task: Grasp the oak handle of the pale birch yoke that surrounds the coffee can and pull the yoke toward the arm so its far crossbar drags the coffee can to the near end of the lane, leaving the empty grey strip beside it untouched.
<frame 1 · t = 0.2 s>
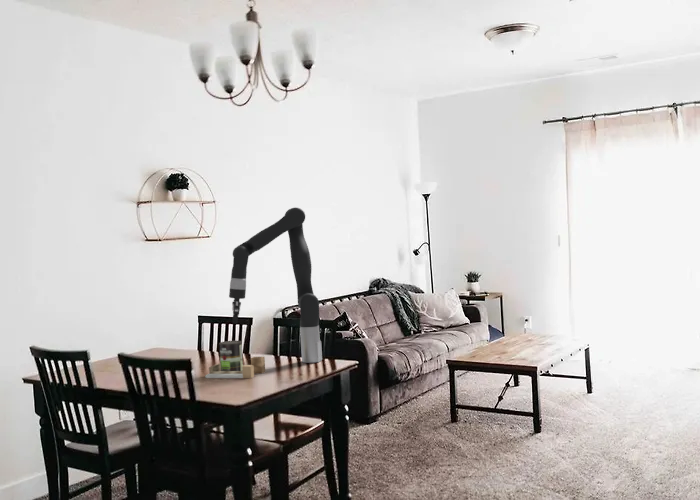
hand: (235, 322, 315), 22 cm above the table, tool pointing down, fingers open, 8 cm apart
yoke: (239, 365, 305), point 4 cm above the table, slide at 0.0 cm
empty strip: (229, 371, 296), point 3 cm above the table, slide at 0.0 cm
coffee can: (232, 373, 307), resting in yoke
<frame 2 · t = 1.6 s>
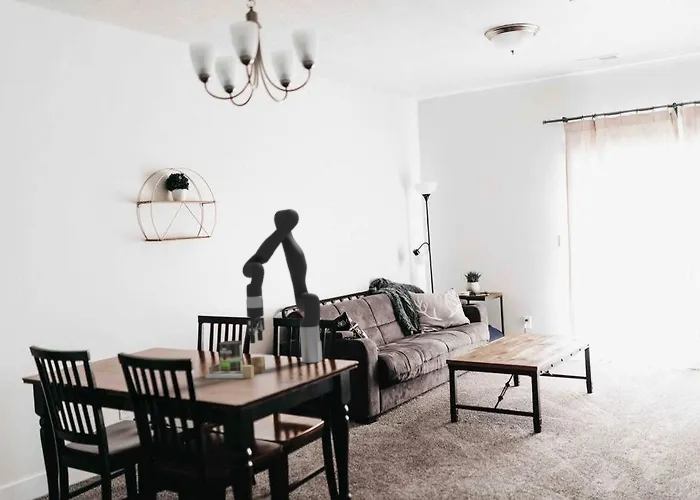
hand: (256, 341, 303), 14 cm above the table, tool pointing down, fingers open, 8 cm apart
nothing on the table moved.
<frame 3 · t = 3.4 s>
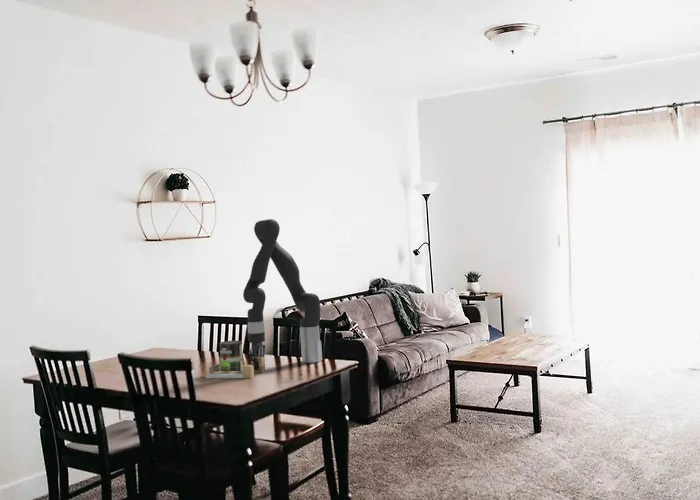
hand: (258, 369, 303), 2 cm above the table, tool pointing down, fingers closed on yoke, 3 cm apart
yoke: (239, 365, 305), point 4 cm above the table, slide at 0.0 cm, touching gripper
everything else where it was.
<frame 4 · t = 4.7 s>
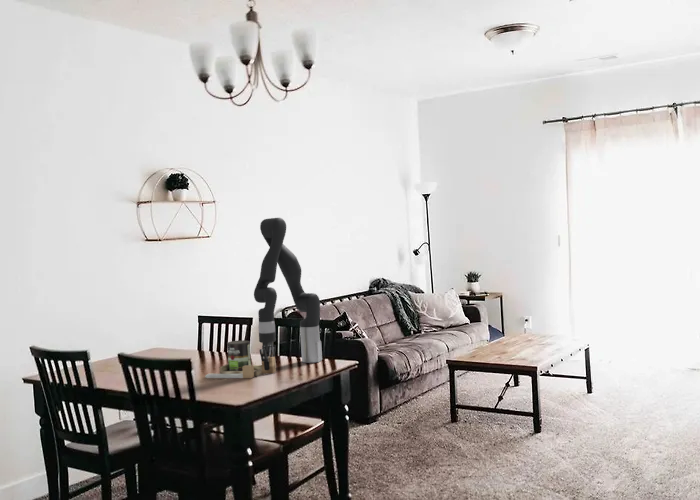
hand: (268, 369, 302), 2 cm above the table, tool pointing down, fingers closed on yoke, 3 cm apart
yoke: (250, 365, 304), point 4 cm above the table, slide at 5.1 cm, touching coffee can, gripper
coffee can: (240, 373, 306), resting in yoke
everything else where it was.
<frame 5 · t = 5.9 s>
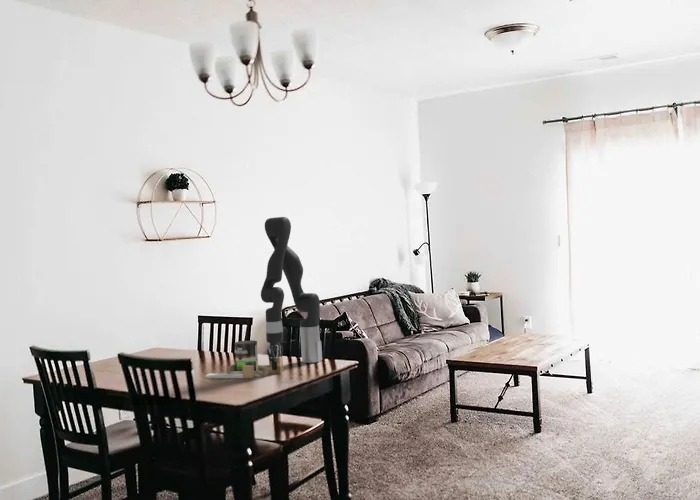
hand: (276, 369, 301), 2 cm above the table, tool pointing down, fingers closed on yoke, 3 cm apart
yoke: (257, 365, 303), point 4 cm above the table, slide at 8.8 cm, touching gripper
coffee can: (247, 373, 305), resting in yoke
everything else where it was.
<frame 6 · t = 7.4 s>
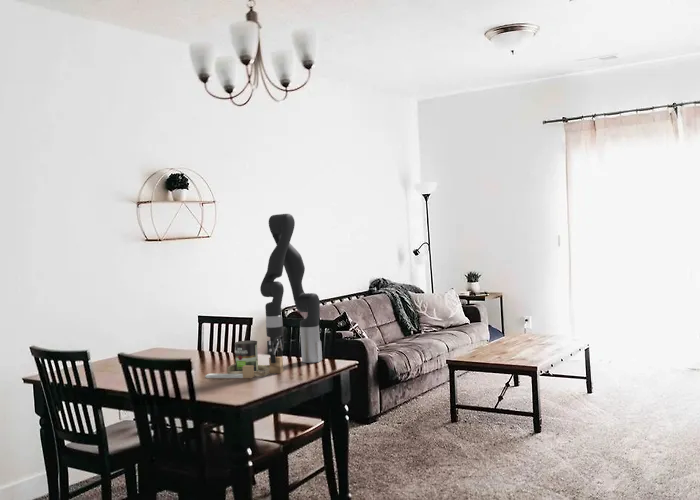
hand: (276, 361, 301), 5 cm above the table, tool pointing down, fingers open, 8 cm apart
yoke: (257, 365, 303), point 4 cm above the table, slide at 8.8 cm
everything else where it was.
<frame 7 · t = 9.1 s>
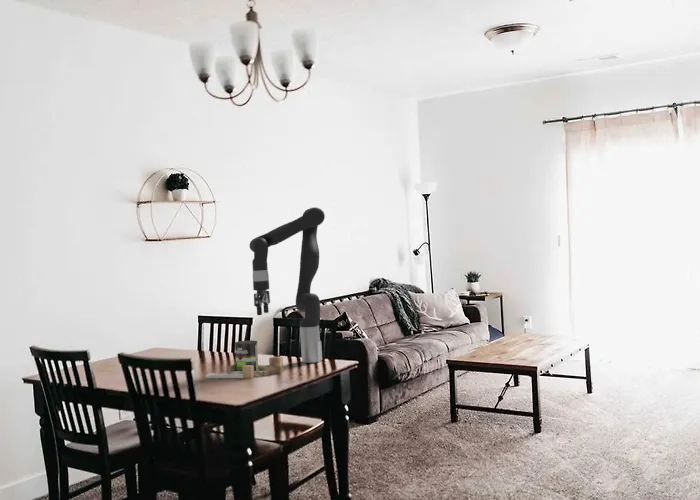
hand: (263, 313, 316), 25 cm above the table, tool pointing down, fingers open, 8 cm apart
nothing on the table moved.
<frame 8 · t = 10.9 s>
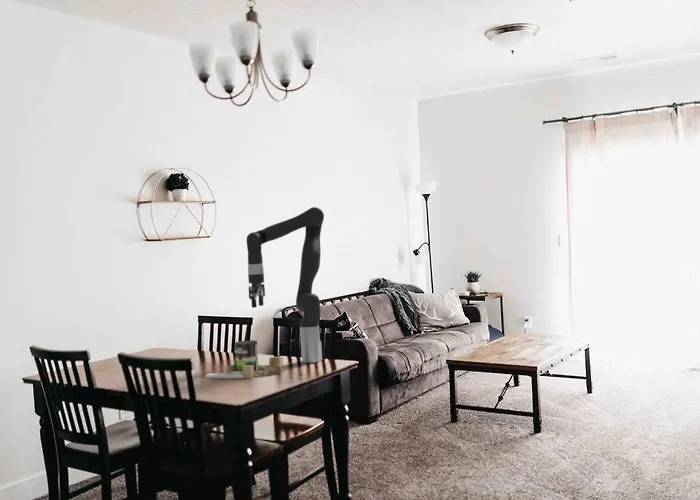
hand: (257, 306, 325), 28 cm above the table, tool pointing down, fingers open, 8 cm apart
nothing on the table moved.
at the end: yoke slide at 8.8 cm; coffee can inside the target area (1.3 cm from its centre), resting in yoke; coffee can tilted 0° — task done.
